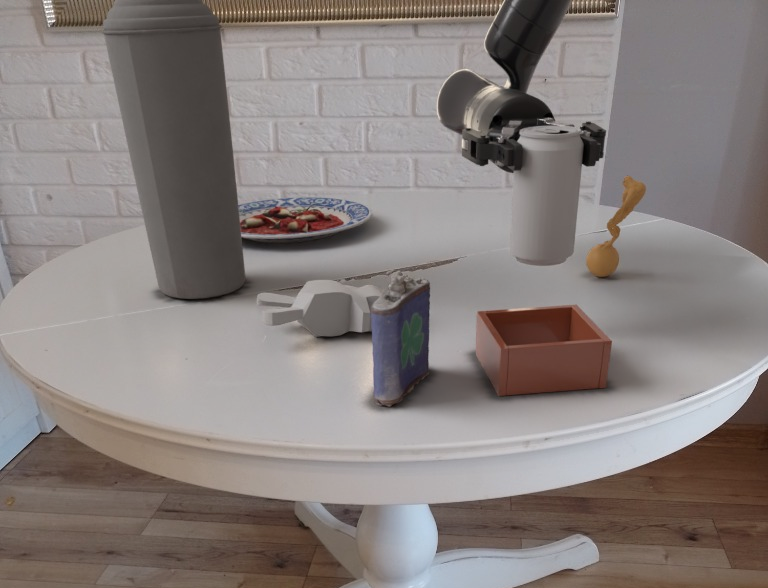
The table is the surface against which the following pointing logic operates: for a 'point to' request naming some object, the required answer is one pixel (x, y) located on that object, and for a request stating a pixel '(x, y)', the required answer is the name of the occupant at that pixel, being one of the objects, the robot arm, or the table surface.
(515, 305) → the table surface
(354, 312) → the bunny figurine
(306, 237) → the ceramic plate
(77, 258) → the table surface
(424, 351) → the flask
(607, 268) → the figurine
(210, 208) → the canister
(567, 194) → the beverage can
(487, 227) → the table surface
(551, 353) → the box
